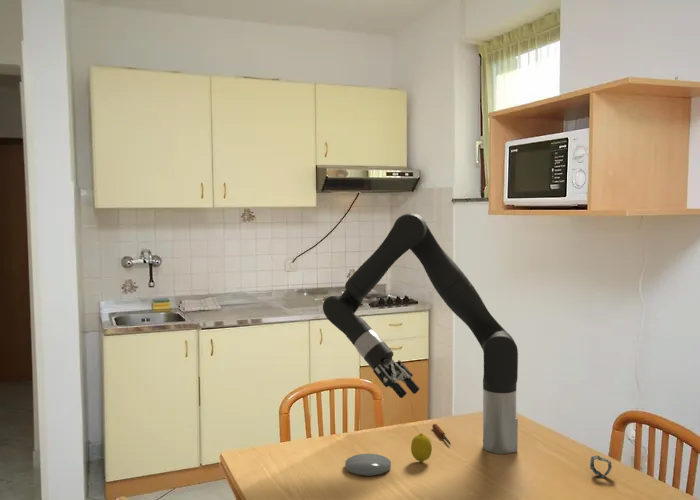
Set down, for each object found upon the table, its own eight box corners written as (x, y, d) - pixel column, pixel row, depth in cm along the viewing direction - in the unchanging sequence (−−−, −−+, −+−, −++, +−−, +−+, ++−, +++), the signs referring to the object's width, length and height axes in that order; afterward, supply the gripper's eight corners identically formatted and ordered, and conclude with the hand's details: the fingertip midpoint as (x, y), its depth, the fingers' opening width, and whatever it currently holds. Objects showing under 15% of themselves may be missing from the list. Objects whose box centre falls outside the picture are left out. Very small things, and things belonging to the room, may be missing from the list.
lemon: (431, 467, 165) (430, 437, 164) (410, 465, 166) (409, 436, 165) (432, 459, 170) (432, 430, 170) (412, 457, 171) (412, 429, 171)
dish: (392, 459, 170) (391, 454, 170) (389, 478, 158) (389, 472, 158) (348, 458, 171) (348, 452, 171) (342, 476, 160) (342, 471, 159)
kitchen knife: (432, 429, 194) (432, 423, 194) (436, 429, 194) (436, 422, 194) (448, 448, 178) (448, 441, 178) (452, 448, 178) (452, 441, 178)
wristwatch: (591, 472, 160) (591, 453, 160) (612, 477, 157) (612, 457, 157) (587, 476, 158) (588, 457, 157) (609, 481, 155) (609, 462, 154)
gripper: (369, 342, 169) (408, 388, 163) (392, 339, 182) (429, 381, 175) (353, 361, 172) (390, 406, 165) (376, 356, 184) (412, 399, 177)
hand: (410, 393), depth 170 cm, fingers open, 8 cm apart
